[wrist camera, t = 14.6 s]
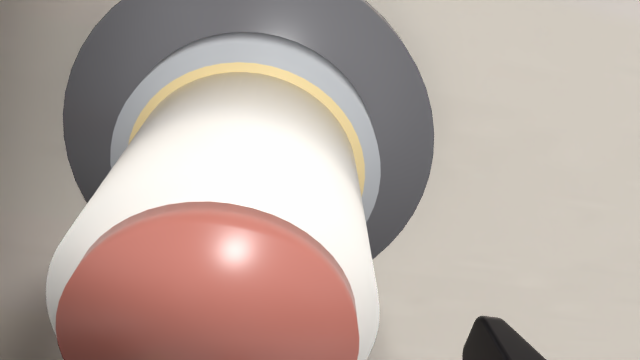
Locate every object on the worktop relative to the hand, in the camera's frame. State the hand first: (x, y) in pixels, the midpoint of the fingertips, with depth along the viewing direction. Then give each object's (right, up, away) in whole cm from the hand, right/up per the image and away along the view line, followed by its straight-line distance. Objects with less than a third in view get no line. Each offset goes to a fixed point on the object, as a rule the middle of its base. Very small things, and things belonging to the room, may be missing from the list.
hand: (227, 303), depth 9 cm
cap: (0, +2, +4) cm, 5 cm away
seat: (0, +3, +6) cm, 7 cm away
